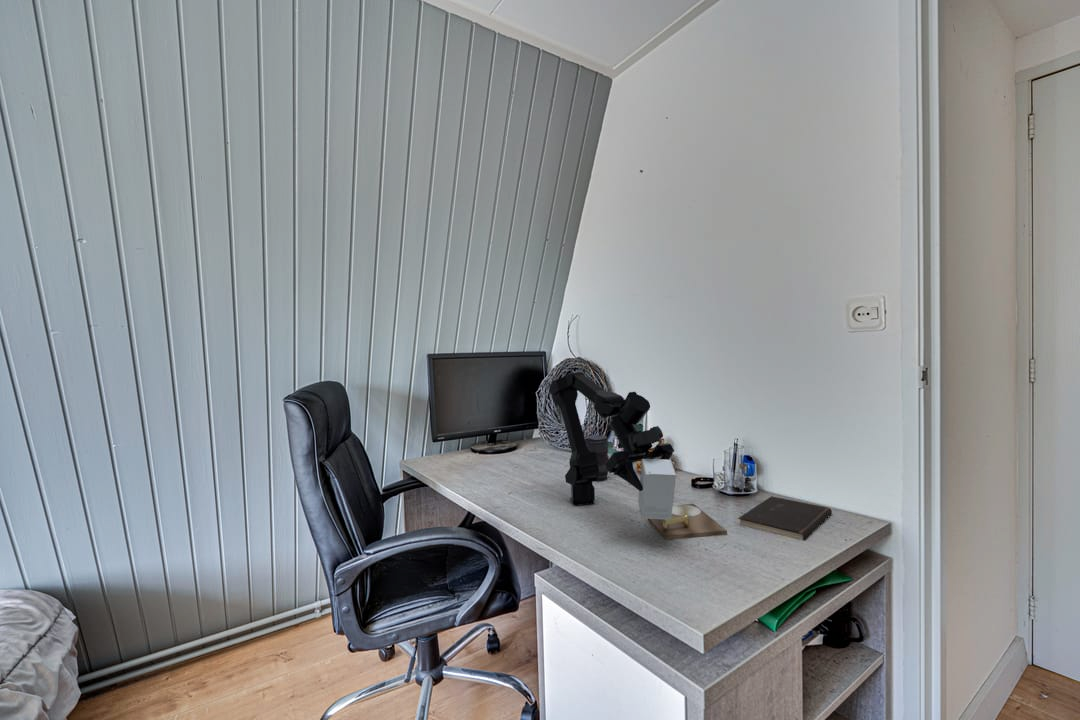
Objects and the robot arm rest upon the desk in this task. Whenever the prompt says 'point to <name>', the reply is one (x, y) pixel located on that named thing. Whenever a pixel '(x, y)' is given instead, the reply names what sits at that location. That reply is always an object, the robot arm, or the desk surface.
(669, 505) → the supplement box
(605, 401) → the robot arm
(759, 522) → the hardcover book
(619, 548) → the desk surface
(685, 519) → the bent brass wire
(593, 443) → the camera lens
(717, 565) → the desk surface
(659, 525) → the walnut board
